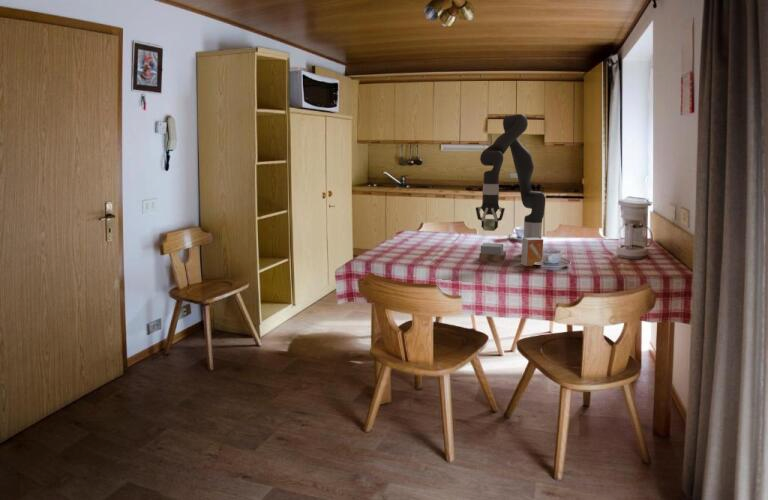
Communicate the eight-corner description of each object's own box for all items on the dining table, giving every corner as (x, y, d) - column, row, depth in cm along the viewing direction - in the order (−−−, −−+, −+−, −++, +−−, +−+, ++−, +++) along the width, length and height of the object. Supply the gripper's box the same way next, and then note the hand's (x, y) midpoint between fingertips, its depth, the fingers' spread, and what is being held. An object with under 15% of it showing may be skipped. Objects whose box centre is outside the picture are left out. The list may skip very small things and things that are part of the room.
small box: (526, 266, 290) (528, 239, 288) (520, 264, 296) (522, 237, 294) (542, 265, 292) (543, 239, 290) (536, 263, 298) (537, 237, 296)
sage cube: (495, 229, 291) (495, 219, 290) (494, 230, 286) (494, 220, 285) (485, 228, 292) (485, 218, 291) (483, 230, 288) (483, 219, 287)
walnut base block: (505, 259, 310) (506, 251, 310) (503, 263, 299) (503, 255, 298) (482, 257, 314) (482, 250, 313) (479, 261, 302) (479, 254, 302)
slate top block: (503, 251, 309) (503, 243, 308) (500, 255, 300) (501, 247, 299) (483, 250, 312) (483, 242, 311) (480, 253, 302) (480, 245, 302)
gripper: (506, 193, 288) (505, 228, 291) (476, 192, 292) (475, 227, 295) (505, 194, 281) (503, 230, 284) (474, 193, 285) (473, 229, 288)
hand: (489, 228), depth 289 cm, fingers closed on sage cube, 5 cm apart
